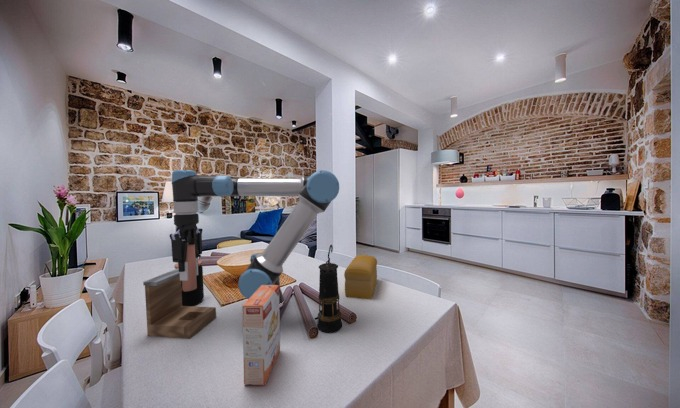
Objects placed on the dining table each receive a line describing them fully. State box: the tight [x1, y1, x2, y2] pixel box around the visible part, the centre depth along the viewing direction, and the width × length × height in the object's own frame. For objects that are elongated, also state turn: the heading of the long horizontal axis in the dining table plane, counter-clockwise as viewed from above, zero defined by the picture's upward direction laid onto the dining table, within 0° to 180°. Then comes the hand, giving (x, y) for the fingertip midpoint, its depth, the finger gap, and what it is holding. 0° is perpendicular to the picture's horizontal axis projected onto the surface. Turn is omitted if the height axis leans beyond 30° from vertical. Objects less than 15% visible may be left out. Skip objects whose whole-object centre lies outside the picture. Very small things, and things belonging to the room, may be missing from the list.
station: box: [142, 268, 217, 339], centre depth 89 cm, size 16×15×19 cm
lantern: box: [314, 244, 343, 334], centre depth 87 cm, size 9×9×30 cm
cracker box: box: [241, 285, 281, 386], centre depth 67 cm, size 14×6×21 cm, turn 178°
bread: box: [343, 254, 378, 300], centre depth 122 cm, size 24×13×15 cm, turn 165°
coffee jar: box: [173, 259, 205, 306], centre depth 108 cm, size 11×11×18 cm
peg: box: [182, 244, 197, 291], centre depth 87 cm, size 4×4×16 cm
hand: (189, 277), depth 87 cm, fingers closed on peg, 4 cm apart
